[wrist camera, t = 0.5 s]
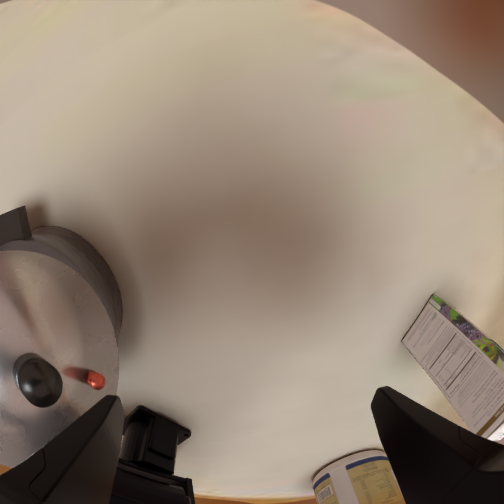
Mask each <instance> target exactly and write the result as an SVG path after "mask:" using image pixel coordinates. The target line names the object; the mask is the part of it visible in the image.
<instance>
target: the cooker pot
mask: <svg viewBox="0 0 504 504" xmlns="http://www.w3.org/2000/svg"><path fill="white" fill-rule="evenodd" d="M14 250H22V251H30V252H36V253H40V254H43V255H47V256H50V257H52V258H54V259H56V260H58V261H61V262H62V263H64V264H65V265H67V266H69V267H70V268H72V269H73V270H74V271H75V272H77V273H78V274H79V275H80V276H81V277H82V278H83V279H84V280H85V281H86V282H87V283H88V284H89V285H90V286H91V287H92V289H93V290H94V291H95V293H96V294H97V295H98V297H99V298H100V300H101V302H102V304H103V305H104V307H105V309H106V311H107V313H108V316H109V318H110V320H111V323H112V326H113V329H114V333H115V337H116V336H117V334H118V332H119V329H120V326H121V321H122V301H121V296H120V292H119V288H118V285H117V283H116V280H115V278H114V275H113V274H112V272H111V270H110V268H109V266H108V265H107V263H106V262H105V260H104V259H103V257H102V256H101V255H100V254H99V253H98V252H97V250H96V249H95V248H94V247H93V246H92V245H91V244H90V243H88V242H87V241H86V240H85V239H83V238H82V237H81V236H79V235H77V234H76V233H74V232H72V231H69V230H67V229H64V228H60V227H55V226H45V227H40V228H37V229H34V230H32V231H31V230H30V226H29V222H28V218H27V213H26V209H25V206H22V207H19V208H16V209H14V210H11V211H9V212H7V213H4V214H2V215H0V252H1V251H14Z"/></svg>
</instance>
